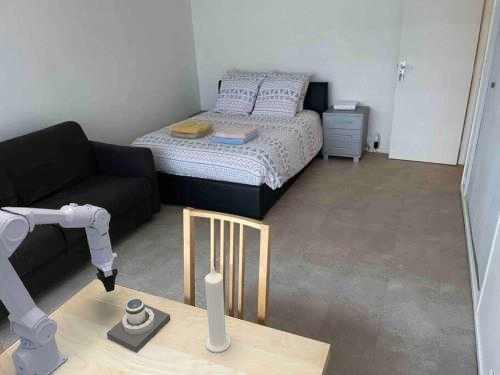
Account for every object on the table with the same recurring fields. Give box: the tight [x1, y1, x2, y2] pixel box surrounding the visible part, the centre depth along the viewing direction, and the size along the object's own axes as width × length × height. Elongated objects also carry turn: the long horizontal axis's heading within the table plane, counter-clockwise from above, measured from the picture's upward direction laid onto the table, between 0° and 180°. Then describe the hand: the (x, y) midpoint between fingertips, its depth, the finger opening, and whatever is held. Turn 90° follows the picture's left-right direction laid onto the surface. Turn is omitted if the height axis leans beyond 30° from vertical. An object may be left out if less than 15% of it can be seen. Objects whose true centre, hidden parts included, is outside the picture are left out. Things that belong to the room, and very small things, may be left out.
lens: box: [125, 298, 146, 326], centre depth 108 cm, size 5×5×7 cm
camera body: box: [106, 303, 171, 353], centre depth 109 cm, size 14×11×4 cm
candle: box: [204, 266, 232, 354], centre depth 100 cm, size 7×7×25 cm
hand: (107, 283), depth 115 cm, fingers open, 7 cm apart
